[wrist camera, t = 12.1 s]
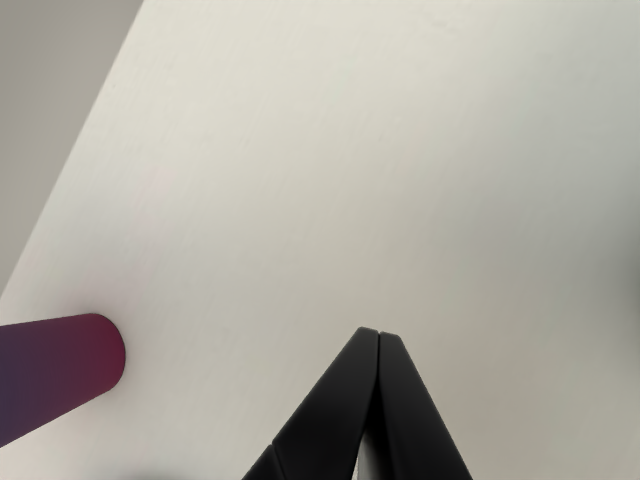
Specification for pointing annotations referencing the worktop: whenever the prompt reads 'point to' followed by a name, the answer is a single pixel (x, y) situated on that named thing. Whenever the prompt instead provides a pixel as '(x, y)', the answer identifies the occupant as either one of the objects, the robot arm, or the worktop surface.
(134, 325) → the worktop surface
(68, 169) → the worktop surface
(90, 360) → the cup
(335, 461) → the robot arm
